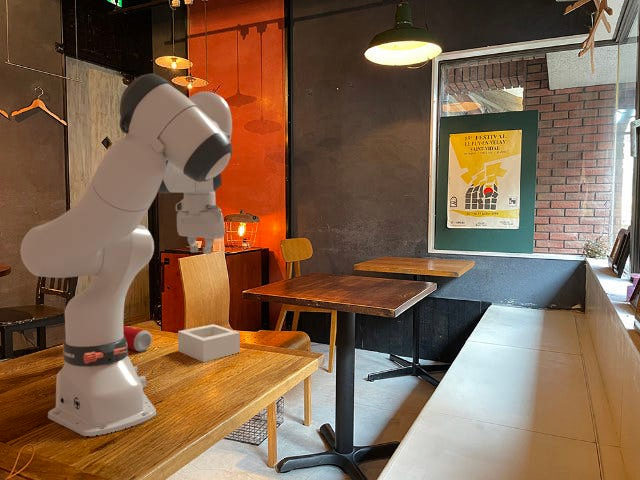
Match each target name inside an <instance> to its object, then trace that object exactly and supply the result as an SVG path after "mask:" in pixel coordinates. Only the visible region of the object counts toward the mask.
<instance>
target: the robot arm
mask: <svg viewBox="0 0 640 480" xmlns="http://www.w3.org/2000/svg"><path fill="white" fill-rule="evenodd" d="M119 116H120V119H119V129H120V130H121V132H122V133H123V134H126V135H125V136H123V137H121V138H119V139H118V140H117V141H116V142H115V143H113V145H112V146H111V147H110V148H109V150H108V151H107V153H106V154H105V155H104V156H103V158H102V159H101V161H100V163H99V165H98V166H97V167H96V170H95V171H94V174H93V176H92V179H91V180H90V182H89V185H88V187H87V188H86V190H85V192H84V193H83V195H82V197H81V199H80V200H79V201H78V202H77V203H76V204H75V205H74V206H72V207H71V208H70V209H69V210H67V211H66V212H64V213H62V214H61V215H60V216H58V217H57V218H55V219H53V220H51V221H48V222H46V223H44V224H40V225H37V226H35V227H32V228H31V229H29V231H28V232H27V233H26V234H25V235H24V237H23V239H22V241H21V245H20V257H21V260H22V263H23V265H24V266H25V268H26V269H27V271H28V272H30V273H31V275H34V276H35V277H44V278H55V279H56V278H57V279H64V278H65V279H66V278H75V277H84V276H85V277H86V276H92V277H91V280H90V283H89V284H88V286H87V287H86V288H85V289H84V290H83V291H81V292H80V293H78V294H76V295H75V296H73V297H72V298H71V299H70V300H69V301H68V302H67V305H65V306H66V307H65V309H64V311H65V319H64V321H65V322H64V323H65V325H64V326H65V329H64V330H65V342H64V343H63V349H62V353H63V360H64V362H65V363H64V364H63V366H62V368H61V369H60V370H59V371H58V373H57V374H56V380H55V381H56V383H55V384H56V385H55V386H56V387H55V407H53V408H52V409H50V410H49V411H48V413H47V418H48V419H49V420H51V421H52V422H55V423H57V424H58V425H61V426H63V427H65V428H67V429H69V430H70V431H73V432H74V433H77V434H79V435H81V436H83V437H86V436H89V437H97V436H96V435H98V436H103V435H106V434H107V433H108V434H111V432H112V433H115V431H116V432H119V431H123V430H125V428H126V429H128V428H131V426H132V427H134V426H137V425H140V424H142V423H144V422H146V421H149V420H150V419H151V418H152V419H153V417H155V416H156V415H157V409H156V408H155V406H154V404H152V402H151V401H150V400H149V398H148V397H147V395H146V394H145V392H144V388H145V387H146V386H147V378H146V376H145V375H141V376H139V375H138V366H134V365H133V363H132V362H131V359H130V357H129V356H128V355H129V349H128V348H127V347H128V345H127V342H126V337H125V336H124V333H123V326H124V314H125V312H124V311H125V302H126V297H127V294H128V291H129V288H130V286H131V285H132V283H133V281H134V279H135V277H136V276H137V275H138V274H139V272H140V271H141V270H142V269H144V267H145V266H147V265H148V264H149V263H150V261H151V259H152V258H153V255H154V252H155V242H154V238H153V236H152V234H151V232H150V230H149V229H148V228H147V227H146V226H144V225H143V224H141V222H142V221H143V219H144V217H145V215H146V214H147V212H148V211H149V209H150V207H151V205H152V204H153V202H154V200H155V199H156V196H157V194H158V193H160V194H172V193H174V194H175V193H176V194H177V193H183V198H182V199H181V200H180V201H179V202H178V203H176V204H175V212H177V213H176V229H177V233H178V235H179V237H187V242H188V245H189V250H190V253H198V252H199V246H198V245H197V242H196V241H197V238H202V239H203V238H204V242H205V245H204V247H203V248H202V252H203V255H211V254H212V247H213V245H214V242H215V240H216V239H217V240H218V239H219V240H220V239H224V237H225V235H226V234H225V233H226V231H225V221H224V216H223V213H222V209H221V208H220V207H219V205H216V202H217V201H216V191H217V190H218V189H220V187H221V186H222V185H223V182H222V172H223V171H224V170H225V168H226V167H227V166H228V165H229V162H230V159H231V158H232V155H233V144H232V141H231V139H232V133H233V119H232V113H231V109H230V106H229V104H228V102H227V101H226V100H225V99H224V98H223V97H222V96H221V95H220V94H217V93H214V92H212V91H199V92H196V93H194V94H192V95H191V96H189V97H188V96H186V95H185V94H183V93H182V92H181V91H179V90H178V89H177V88H175V87H174V86H173V84H172V83H171V82H170V81H168V80H167V79H166V78H163V77H162V76H160V75H157V74H156V73H147V74H142V75H140V76H139V77H136V78H135V79H133V81H131V82H130V83H129V85H127V87H125V89H124V91H123V93H122V95H121V98H120V101H119ZM214 239H215V240H214ZM102 434H103V435H102ZM108 434H107V435H108Z"/></svg>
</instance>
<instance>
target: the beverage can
mask: <svg viewBox="0 0 640 480" xmlns="http://www.w3.org/2000/svg"><path fill="white" fill-rule="evenodd" d="M123 333H124V336H125V337H126V342H127V345H128V347H127V348H128V350H131V351H136V352H139V353H142V352H143V353H144V351H146V350H148V349H149V348H150V346H151V344H152V340H153V337H152V334H151V333H150V331H149V330H145V329H139V328H135V327H130V326H125V325H123Z"/></svg>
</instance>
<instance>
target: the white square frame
mask: <svg viewBox="0 0 640 480" xmlns="http://www.w3.org/2000/svg"><path fill="white" fill-rule="evenodd" d="M177 332H178V333H177V337H178V338H177V339H178V341H177V342H178V343H177V344H178V347H177V348H178V352H179V353H182V354H184V355H186V356H188V357H191V358H193V359H196V360H197V361H199V362H202V363H207V362H211V361H215V360H218V359H222V358H226V357H230V356H233V355H232V354H234V355H236V354H235V353H238V352H240V353H241V341H240V340H241V335H240V334H241V333H240V332H239V331H235V330H233V329H230V328H226V327H223V326H221V325H217V324H213V323H212V324H208V325H203V326H198V327H192V328H188V329H183V330H178V331H177ZM238 354H239V353H238ZM229 355H230V356H229ZM225 356H226V357H225ZM221 357H222V358H221ZM214 359H215V360H214Z"/></svg>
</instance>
